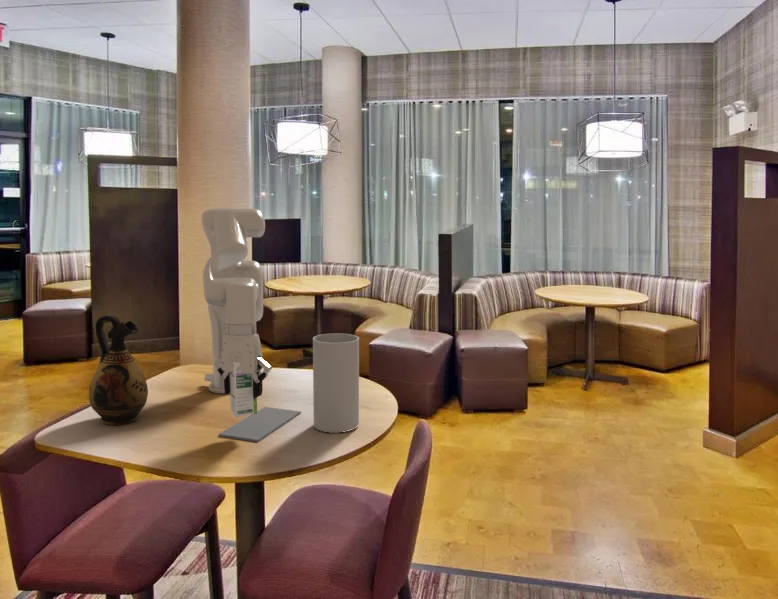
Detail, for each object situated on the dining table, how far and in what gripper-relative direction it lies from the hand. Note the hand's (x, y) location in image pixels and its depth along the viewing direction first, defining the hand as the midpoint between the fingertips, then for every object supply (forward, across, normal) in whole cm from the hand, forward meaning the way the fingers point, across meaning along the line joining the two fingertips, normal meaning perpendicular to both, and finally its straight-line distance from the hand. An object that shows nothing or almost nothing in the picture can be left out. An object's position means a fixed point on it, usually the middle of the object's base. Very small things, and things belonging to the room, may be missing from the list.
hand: (243, 394), depth 166 cm
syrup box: (+5, 0, 0) cm, 5 cm away
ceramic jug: (+11, -40, -2) cm, 42 cm away
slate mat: (+11, 0, +9) cm, 14 cm away
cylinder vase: (+12, +20, +15) cm, 28 cm away
